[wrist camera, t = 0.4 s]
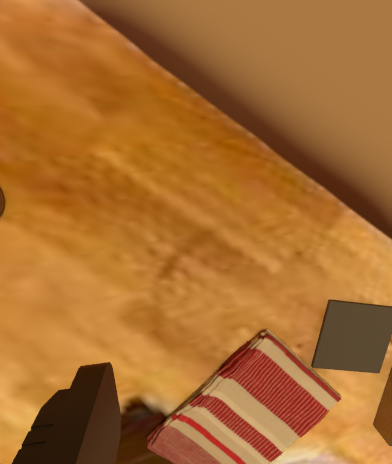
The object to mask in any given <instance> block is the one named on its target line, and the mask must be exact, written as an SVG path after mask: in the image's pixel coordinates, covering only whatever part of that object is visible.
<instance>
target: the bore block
mask: <svg viewBox="0 0 392 464" xmlns="http://www.w3.org/2000/svg"><path fill="white" fill-rule="evenodd" d="M373 425H374V427H375V428H376V429H377V431H378V432H379V433H380V434H381V436H382V437H383V438H384V440H385V441H386V442H387V444H388V445H389V446H392V369H391V372H390V375H389V378H388V381H387V384H386V387H385V390H384V393H383V396H382V399H381V402H380V405H379V408H378V411H377V414H376V417H375V420H374V423H373Z"/></svg>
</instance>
